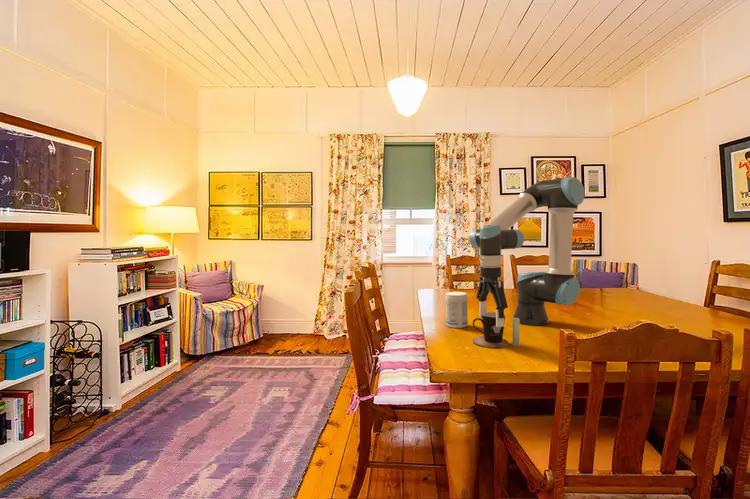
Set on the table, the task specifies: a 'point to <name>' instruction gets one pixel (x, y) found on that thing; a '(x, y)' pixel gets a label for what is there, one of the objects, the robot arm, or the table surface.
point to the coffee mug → (490, 327)
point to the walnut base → (482, 343)
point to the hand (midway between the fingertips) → (491, 322)
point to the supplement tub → (456, 309)
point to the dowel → (516, 331)
